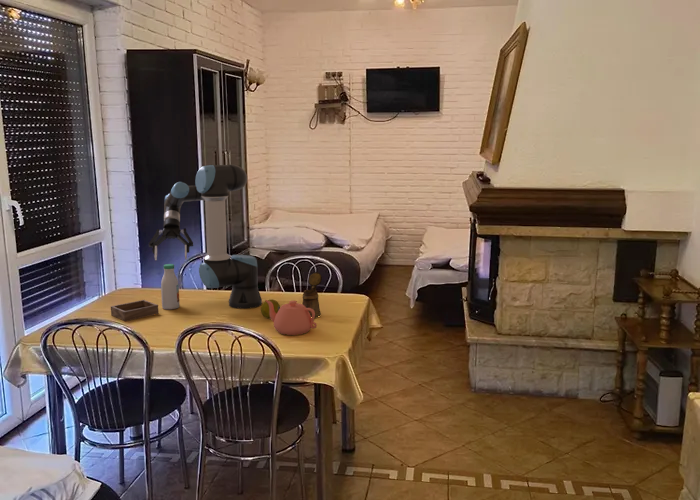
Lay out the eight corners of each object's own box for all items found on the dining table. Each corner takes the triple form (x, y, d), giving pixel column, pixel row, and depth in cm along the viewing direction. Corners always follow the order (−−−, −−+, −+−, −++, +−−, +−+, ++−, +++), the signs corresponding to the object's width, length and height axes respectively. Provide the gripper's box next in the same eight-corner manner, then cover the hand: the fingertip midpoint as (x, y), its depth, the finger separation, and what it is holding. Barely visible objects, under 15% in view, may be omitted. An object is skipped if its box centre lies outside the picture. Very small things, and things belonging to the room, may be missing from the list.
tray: (158, 313, 279) (158, 305, 279) (125, 321, 268) (124, 312, 268) (144, 308, 288) (143, 299, 287) (111, 315, 277) (110, 306, 276)
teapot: (257, 334, 252) (257, 303, 250) (273, 323, 267) (272, 294, 265) (310, 339, 246) (310, 308, 244) (322, 327, 261) (322, 298, 259)
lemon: (270, 322, 268) (270, 303, 266) (256, 319, 272) (255, 301, 270) (285, 316, 277) (285, 298, 276) (271, 313, 281) (271, 295, 279)
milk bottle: (174, 310, 285) (172, 266, 281) (159, 309, 287) (156, 266, 283) (182, 305, 292) (180, 263, 289) (167, 304, 294) (165, 262, 290)
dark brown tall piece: (326, 311, 285) (326, 272, 281) (317, 319, 272) (316, 278, 269) (308, 309, 287) (307, 270, 284) (297, 317, 274) (297, 277, 271)
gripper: (198, 226, 313) (198, 261, 301) (146, 227, 308) (143, 263, 297) (197, 216, 307) (197, 252, 295) (144, 217, 302) (141, 254, 291)
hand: (170, 258), depth 296 cm, fingers open, 13 cm apart
